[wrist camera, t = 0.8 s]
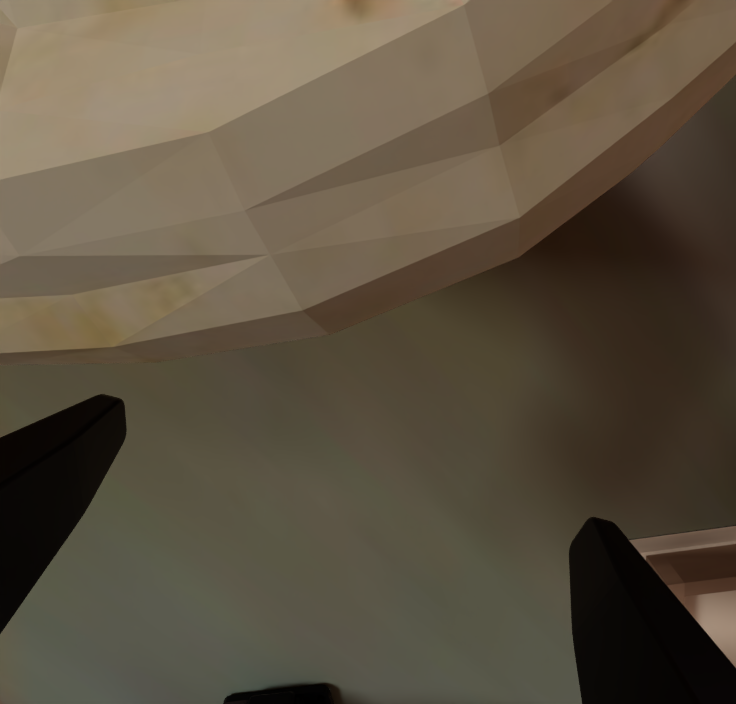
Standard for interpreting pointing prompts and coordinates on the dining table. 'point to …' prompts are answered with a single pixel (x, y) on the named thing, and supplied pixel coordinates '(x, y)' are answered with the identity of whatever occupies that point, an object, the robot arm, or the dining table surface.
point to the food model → (309, 155)
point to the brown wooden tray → (700, 577)
